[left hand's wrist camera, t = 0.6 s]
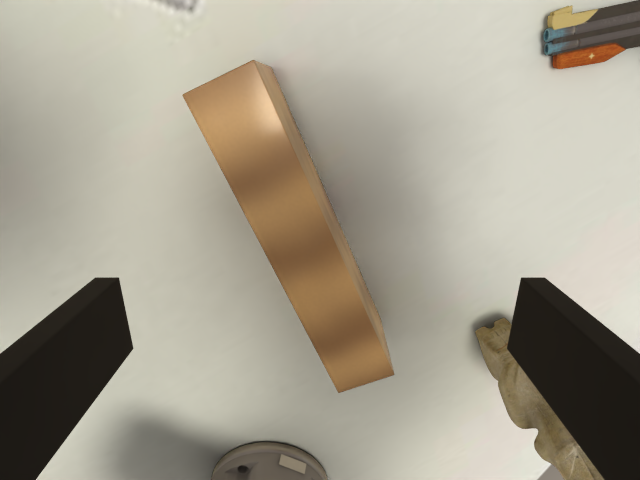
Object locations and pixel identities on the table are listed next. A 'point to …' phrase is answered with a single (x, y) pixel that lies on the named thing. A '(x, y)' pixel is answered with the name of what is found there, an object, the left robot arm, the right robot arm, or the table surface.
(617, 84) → the table surface
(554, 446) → the sculpture
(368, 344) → the bar
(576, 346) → the left robot arm
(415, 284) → the table surface
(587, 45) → the toy gun
